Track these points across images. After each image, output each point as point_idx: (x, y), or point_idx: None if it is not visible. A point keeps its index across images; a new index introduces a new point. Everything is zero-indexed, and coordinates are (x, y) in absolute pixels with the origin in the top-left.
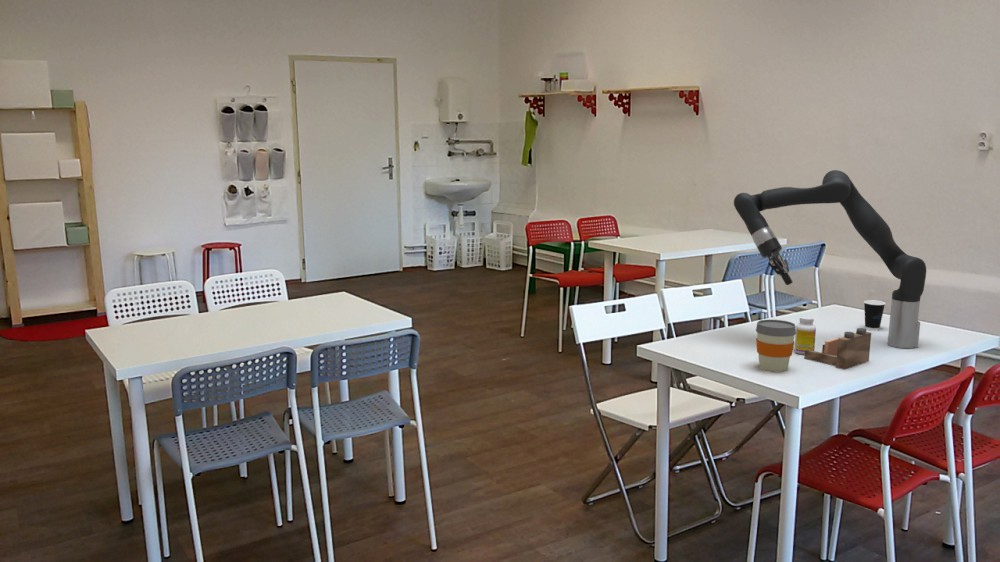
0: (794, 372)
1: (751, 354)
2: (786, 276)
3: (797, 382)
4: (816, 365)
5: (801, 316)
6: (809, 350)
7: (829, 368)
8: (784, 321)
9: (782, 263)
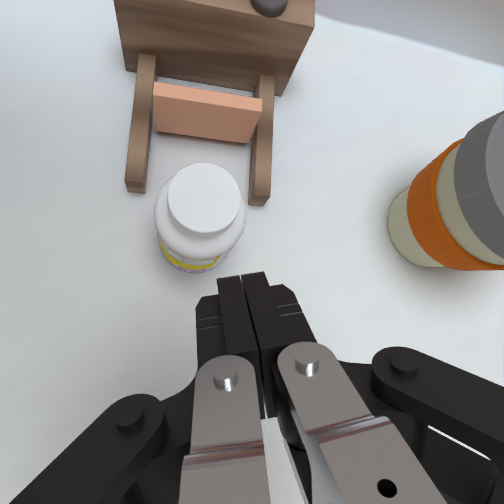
0: (416, 162)
1: (355, 357)
2: (305, 325)
3: (480, 121)
4: (305, 146)
5: (198, 229)
6: (263, 182)
7: (305, 107)
8: (490, 173)
9: (402, 488)
